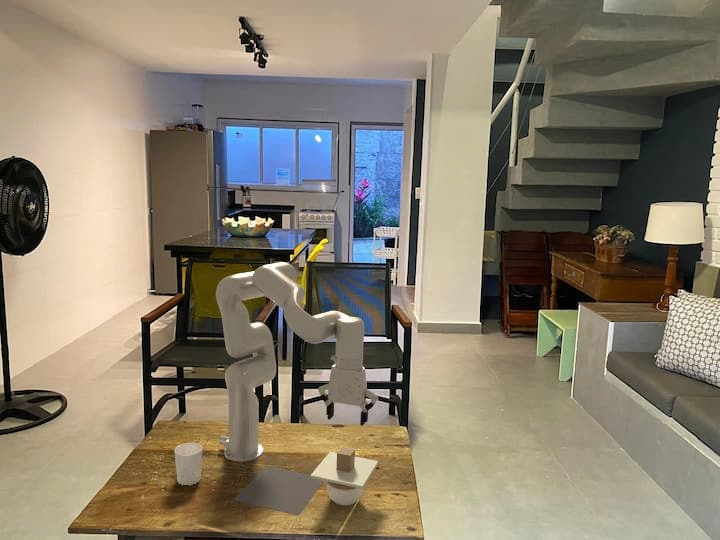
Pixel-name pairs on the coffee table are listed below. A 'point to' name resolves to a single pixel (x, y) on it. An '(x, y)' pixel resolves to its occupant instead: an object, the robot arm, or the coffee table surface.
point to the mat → (280, 490)
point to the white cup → (188, 463)
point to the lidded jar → (343, 493)
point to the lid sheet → (345, 476)
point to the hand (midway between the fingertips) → (346, 420)
